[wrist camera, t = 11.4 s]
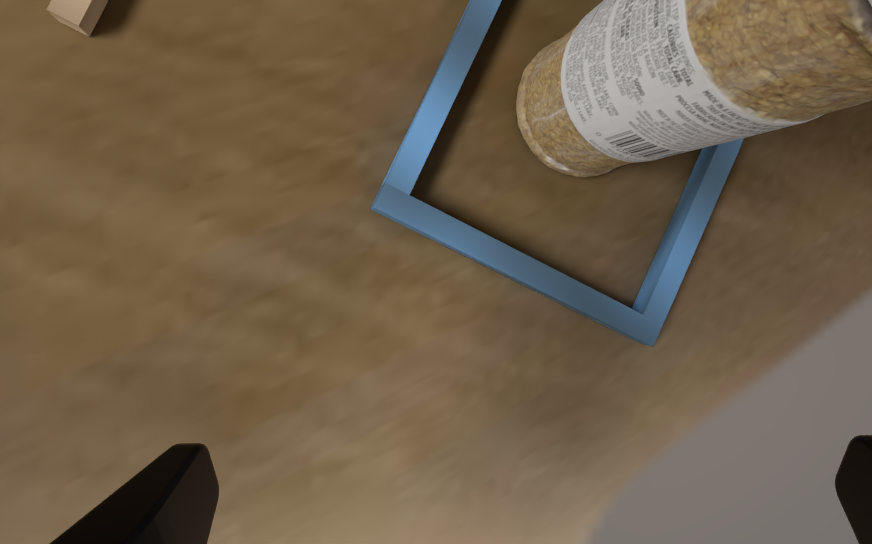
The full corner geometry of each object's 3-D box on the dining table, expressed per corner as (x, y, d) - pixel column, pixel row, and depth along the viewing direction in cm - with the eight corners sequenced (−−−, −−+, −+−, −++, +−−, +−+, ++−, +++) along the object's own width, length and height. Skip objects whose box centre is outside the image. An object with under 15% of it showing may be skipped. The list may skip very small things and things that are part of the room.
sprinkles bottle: (655, 76, 20) (1370, -271, 7) (610, 201, 19) (1253, 104, 6) (538, 15, 19) (1108, -544, 5) (489, 147, 18) (958, -105, 5)
